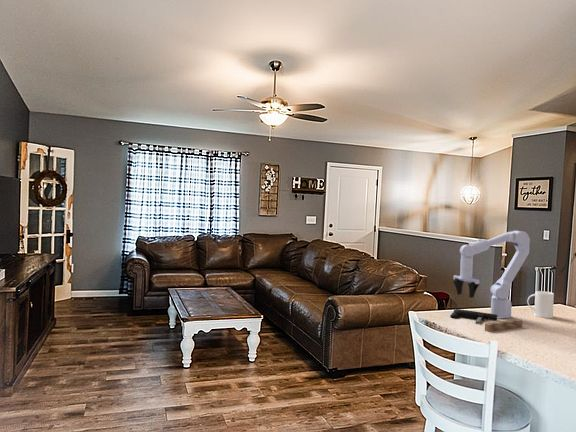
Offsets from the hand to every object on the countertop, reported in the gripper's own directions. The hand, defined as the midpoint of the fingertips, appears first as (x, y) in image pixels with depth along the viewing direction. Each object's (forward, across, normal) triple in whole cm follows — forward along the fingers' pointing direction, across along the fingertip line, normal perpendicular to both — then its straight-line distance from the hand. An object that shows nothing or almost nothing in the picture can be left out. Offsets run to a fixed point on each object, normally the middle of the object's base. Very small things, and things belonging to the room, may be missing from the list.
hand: (465, 295), depth 223 cm
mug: (+10, +16, +36) cm, 40 cm away
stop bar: (+9, +25, -4) cm, 27 cm away
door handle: (+10, +8, -4) cm, 14 cm away
